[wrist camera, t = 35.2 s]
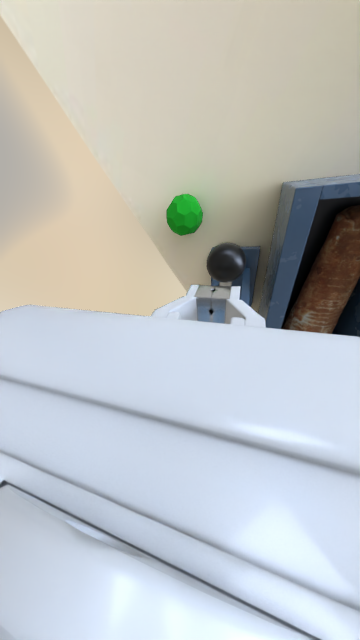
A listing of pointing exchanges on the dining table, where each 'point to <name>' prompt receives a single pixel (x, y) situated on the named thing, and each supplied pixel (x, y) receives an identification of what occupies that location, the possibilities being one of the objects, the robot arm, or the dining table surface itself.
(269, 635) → the robot arm
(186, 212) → the polyhedron
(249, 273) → the lever bracket
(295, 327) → the bread
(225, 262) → the toaster lever
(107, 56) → the dining table surface
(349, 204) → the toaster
